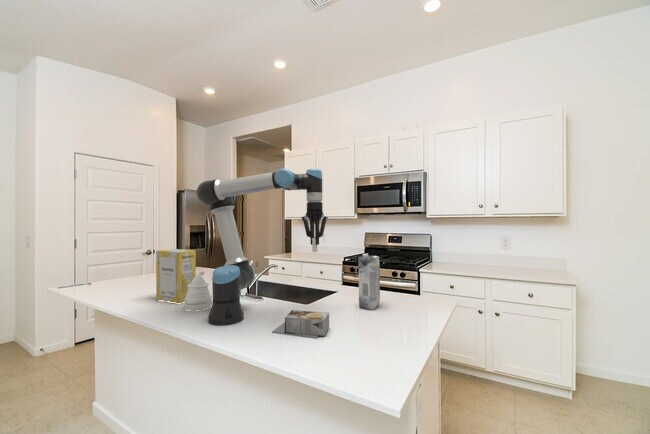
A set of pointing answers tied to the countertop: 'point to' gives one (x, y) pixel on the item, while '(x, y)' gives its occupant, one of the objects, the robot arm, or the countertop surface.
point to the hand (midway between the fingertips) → (314, 251)
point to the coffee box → (307, 322)
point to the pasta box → (174, 274)
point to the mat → (282, 331)
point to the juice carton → (369, 282)
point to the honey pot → (198, 294)
